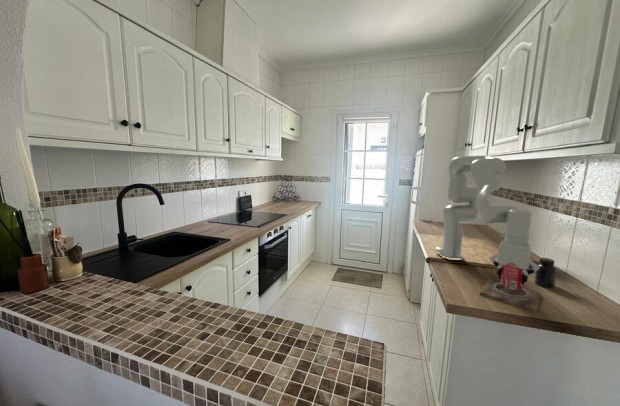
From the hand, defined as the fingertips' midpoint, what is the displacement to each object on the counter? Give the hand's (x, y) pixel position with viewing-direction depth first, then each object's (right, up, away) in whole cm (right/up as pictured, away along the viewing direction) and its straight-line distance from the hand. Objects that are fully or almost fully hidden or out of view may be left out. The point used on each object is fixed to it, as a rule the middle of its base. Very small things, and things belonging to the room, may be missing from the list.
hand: (511, 279), depth 104 cm
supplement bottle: (+22, -5, +9) cm, 25 cm away
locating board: (0, -7, +1) cm, 7 cm away
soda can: (0, -3, 0) cm, 3 cm away
